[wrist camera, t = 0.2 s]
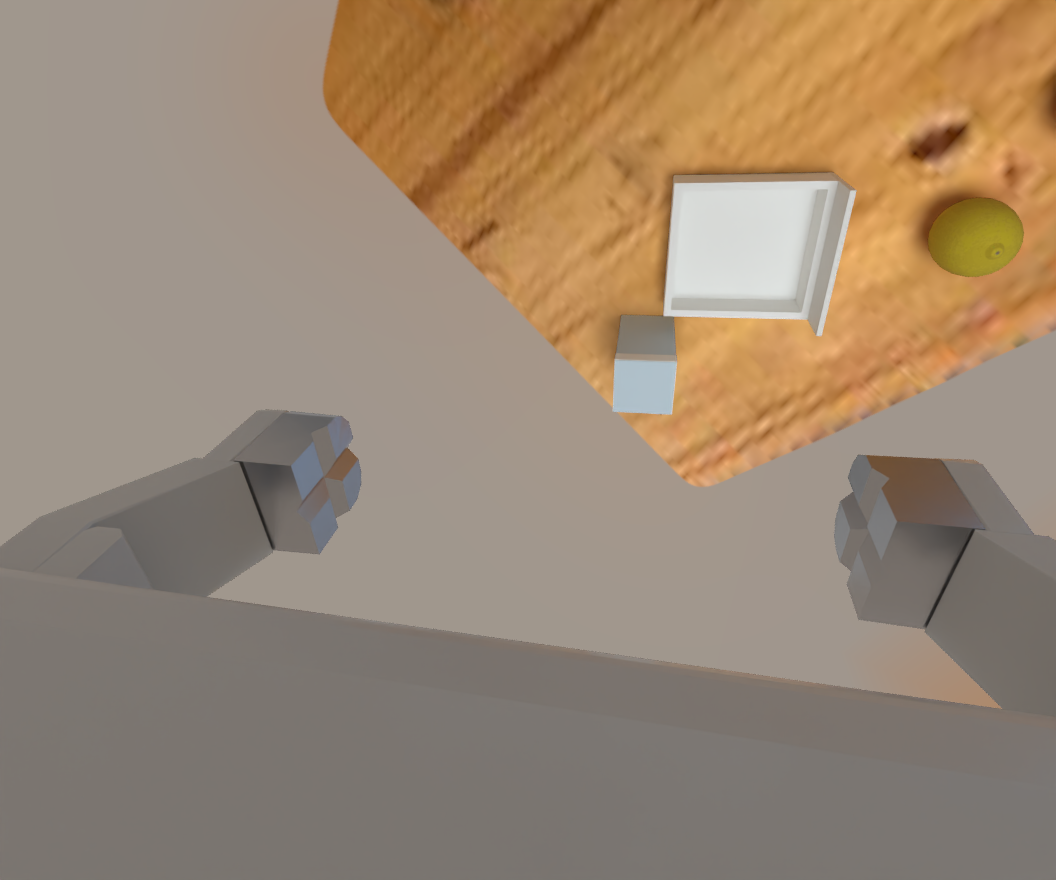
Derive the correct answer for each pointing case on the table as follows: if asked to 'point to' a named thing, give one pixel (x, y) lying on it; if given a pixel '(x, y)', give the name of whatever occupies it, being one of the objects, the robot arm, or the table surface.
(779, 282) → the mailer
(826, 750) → the robot arm
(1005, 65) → the table surface
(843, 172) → the table surface
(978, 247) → the lemon
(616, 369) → the carton
